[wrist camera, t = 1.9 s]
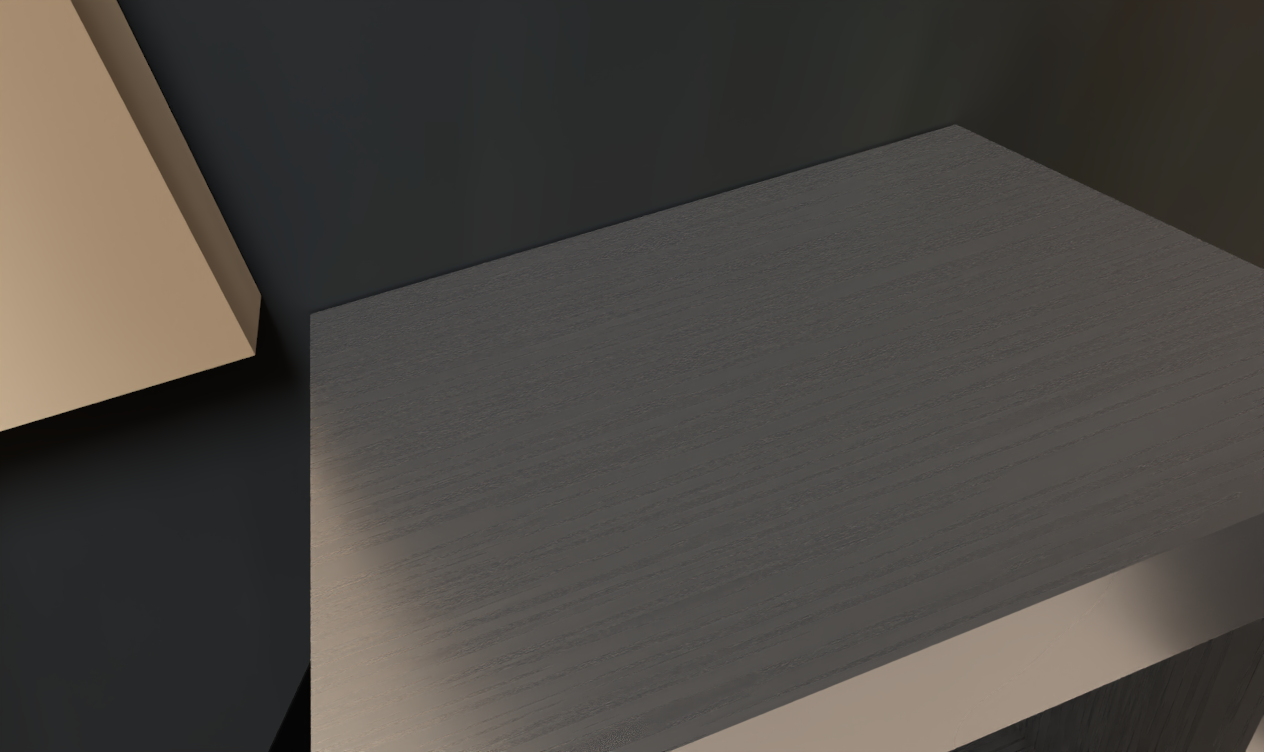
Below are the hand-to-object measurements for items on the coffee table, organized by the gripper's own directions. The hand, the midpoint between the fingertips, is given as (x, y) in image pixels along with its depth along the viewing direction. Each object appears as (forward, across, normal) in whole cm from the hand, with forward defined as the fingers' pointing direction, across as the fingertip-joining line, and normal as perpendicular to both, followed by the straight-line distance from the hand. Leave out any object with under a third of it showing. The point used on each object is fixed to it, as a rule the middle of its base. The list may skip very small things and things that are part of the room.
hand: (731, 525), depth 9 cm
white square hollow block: (+1, 0, 0) cm, 1 cm away
